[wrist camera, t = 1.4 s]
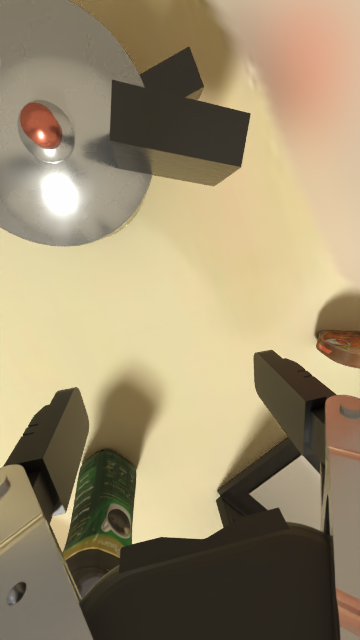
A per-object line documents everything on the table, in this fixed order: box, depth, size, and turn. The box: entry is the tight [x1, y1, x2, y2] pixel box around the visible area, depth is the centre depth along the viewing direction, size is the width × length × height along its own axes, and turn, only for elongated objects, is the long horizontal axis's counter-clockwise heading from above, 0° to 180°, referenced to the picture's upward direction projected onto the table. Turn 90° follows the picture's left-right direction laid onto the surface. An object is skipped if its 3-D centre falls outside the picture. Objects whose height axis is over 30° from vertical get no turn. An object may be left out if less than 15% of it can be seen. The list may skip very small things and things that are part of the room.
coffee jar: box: [62, 450, 136, 598], centre depth 36 cm, size 10×8×19 cm
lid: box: [0, 0, 250, 246], centre depth 17 cm, size 22×17×7 cm
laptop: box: [216, 437, 321, 530], centre depth 43 cm, size 37×27×27 cm
